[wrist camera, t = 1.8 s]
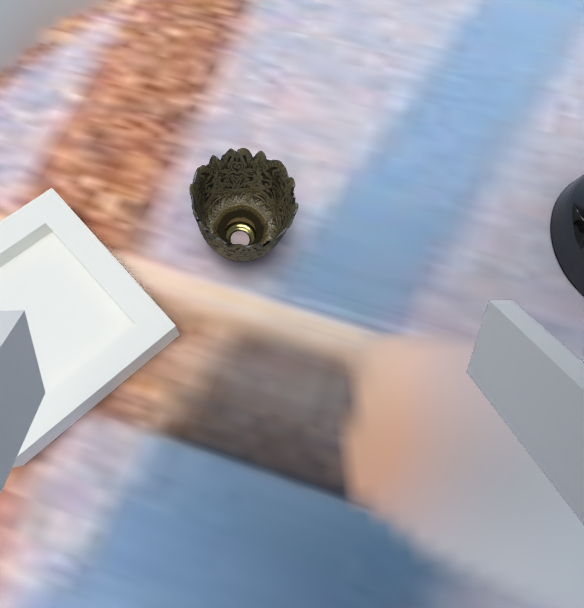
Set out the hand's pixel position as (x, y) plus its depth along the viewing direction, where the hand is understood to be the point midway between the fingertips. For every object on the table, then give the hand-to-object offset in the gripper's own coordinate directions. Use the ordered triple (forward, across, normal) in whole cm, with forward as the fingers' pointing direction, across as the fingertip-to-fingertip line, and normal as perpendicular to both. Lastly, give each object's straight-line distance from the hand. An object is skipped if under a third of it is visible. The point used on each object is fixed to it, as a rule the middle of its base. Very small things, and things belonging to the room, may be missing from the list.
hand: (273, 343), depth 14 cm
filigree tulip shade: (+26, +1, -8) cm, 27 cm away
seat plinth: (+21, -14, -12) cm, 28 cm away
